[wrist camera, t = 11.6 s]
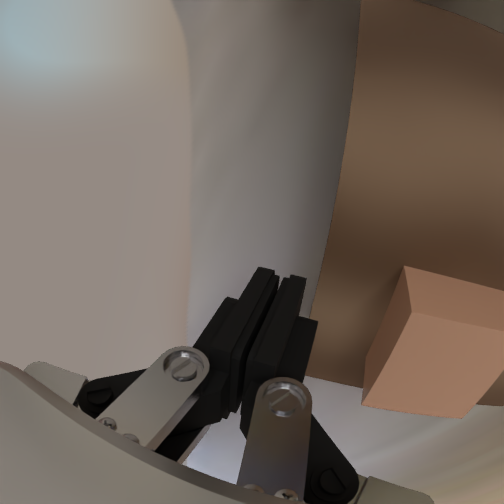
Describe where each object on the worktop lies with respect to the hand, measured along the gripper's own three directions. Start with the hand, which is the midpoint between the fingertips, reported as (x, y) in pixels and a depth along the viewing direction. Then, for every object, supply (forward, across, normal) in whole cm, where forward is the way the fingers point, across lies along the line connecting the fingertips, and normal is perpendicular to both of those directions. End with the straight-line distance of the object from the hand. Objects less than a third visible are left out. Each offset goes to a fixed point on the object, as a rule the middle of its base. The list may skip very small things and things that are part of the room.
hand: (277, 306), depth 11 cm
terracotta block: (+1, -6, 0) cm, 6 cm away
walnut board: (+5, -7, -3) cm, 9 cm away
